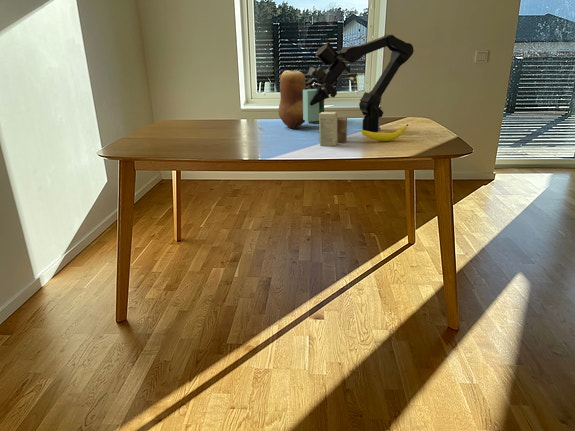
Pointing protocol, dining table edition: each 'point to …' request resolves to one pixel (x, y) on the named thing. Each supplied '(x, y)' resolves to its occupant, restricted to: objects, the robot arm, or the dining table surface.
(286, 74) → the butternut squash
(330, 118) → the skincare box
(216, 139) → the dining table surface
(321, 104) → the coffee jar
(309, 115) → the teal block
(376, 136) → the banana
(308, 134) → the dining table surface
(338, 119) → the walnut block
